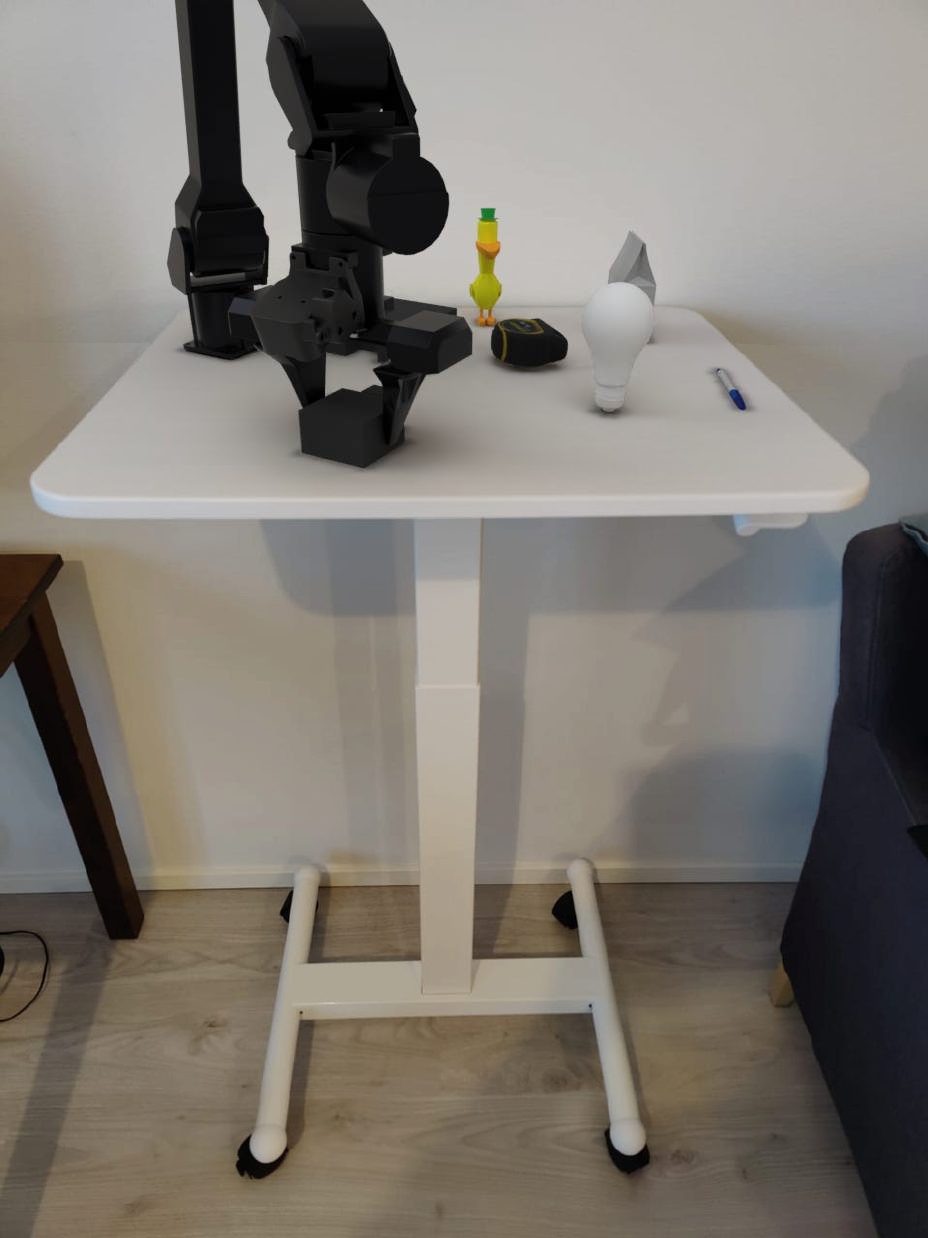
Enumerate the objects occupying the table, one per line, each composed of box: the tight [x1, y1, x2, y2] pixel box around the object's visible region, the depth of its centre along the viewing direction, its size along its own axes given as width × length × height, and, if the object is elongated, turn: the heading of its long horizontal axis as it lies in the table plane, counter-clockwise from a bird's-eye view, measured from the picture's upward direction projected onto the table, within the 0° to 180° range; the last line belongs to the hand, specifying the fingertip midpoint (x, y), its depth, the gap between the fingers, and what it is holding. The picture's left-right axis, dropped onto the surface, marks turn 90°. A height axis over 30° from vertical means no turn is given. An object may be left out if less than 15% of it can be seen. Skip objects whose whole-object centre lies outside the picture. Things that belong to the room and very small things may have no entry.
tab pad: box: [297, 384, 406, 469], centre depth 74 cm, size 6×8×4 cm
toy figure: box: [468, 207, 503, 327], centre depth 101 cm, size 7×4×12 cm, turn 5°
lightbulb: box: [580, 282, 656, 413], centre depth 79 cm, size 6×6×11 cm
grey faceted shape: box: [607, 230, 657, 344], centre depth 99 cm, size 4×7×10 cm, turn 3°
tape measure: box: [490, 317, 569, 368], centre depth 92 cm, size 7×7×4 cm
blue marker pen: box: [716, 368, 747, 411], centre depth 87 cm, size 10×1×1 cm, turn 0°
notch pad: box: [326, 297, 458, 364], centre depth 96 cm, size 11×10×4 cm
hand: (353, 434), depth 74 cm, fingers open, 7 cm apart
